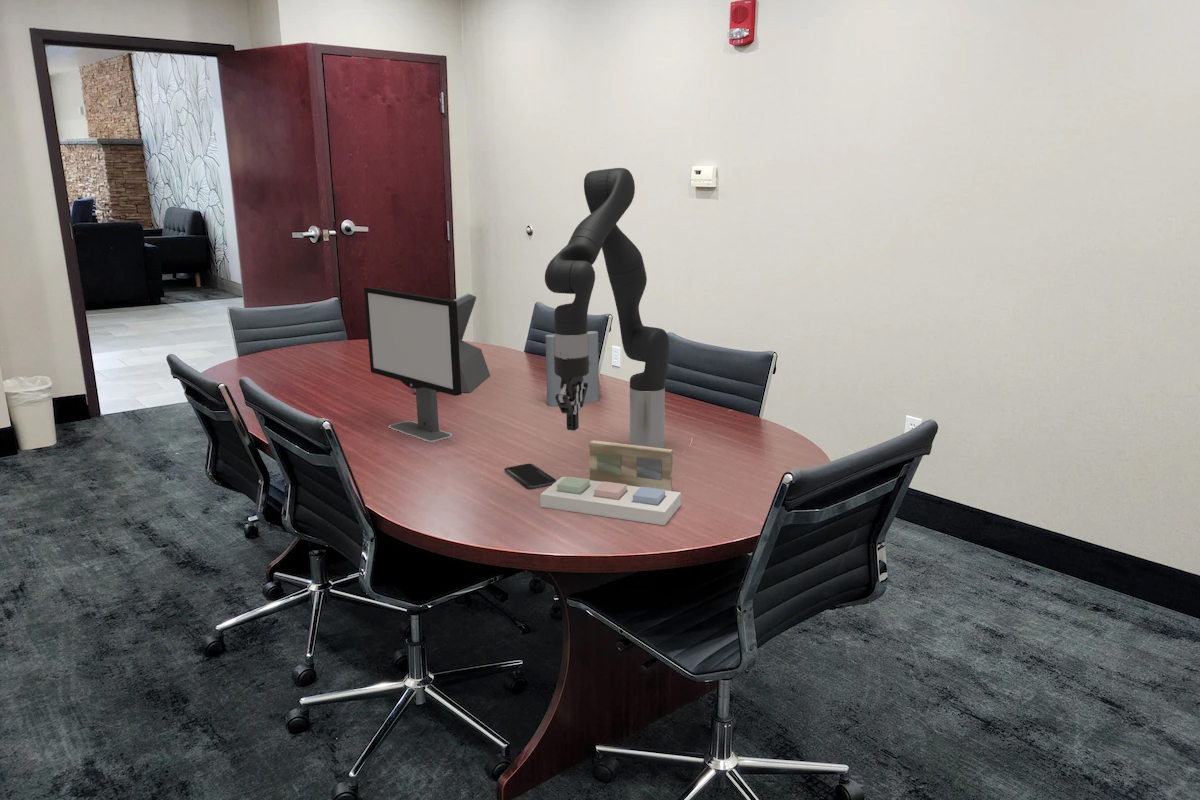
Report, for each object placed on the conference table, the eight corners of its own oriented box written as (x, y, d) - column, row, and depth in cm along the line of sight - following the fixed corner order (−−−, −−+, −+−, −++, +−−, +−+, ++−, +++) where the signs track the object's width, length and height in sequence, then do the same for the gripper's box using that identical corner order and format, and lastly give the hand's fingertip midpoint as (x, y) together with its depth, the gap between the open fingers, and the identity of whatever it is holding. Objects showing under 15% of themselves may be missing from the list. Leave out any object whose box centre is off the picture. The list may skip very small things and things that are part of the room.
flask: (550, 407, 267) (548, 329, 261) (545, 403, 272) (543, 327, 265) (601, 401, 274) (600, 325, 267) (596, 398, 278) (595, 322, 271)
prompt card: (593, 479, 206) (592, 440, 203) (672, 490, 198) (672, 449, 196) (589, 482, 204) (588, 443, 201) (669, 493, 196) (669, 452, 194)
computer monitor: (368, 421, 254) (357, 288, 243) (392, 415, 260) (382, 285, 249) (452, 450, 227) (444, 302, 217) (477, 443, 233) (470, 298, 222)
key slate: (641, 497, 189) (641, 486, 189) (665, 501, 187) (665, 489, 187) (632, 506, 184) (632, 495, 184) (657, 510, 182) (657, 498, 182)
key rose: (603, 492, 193) (603, 481, 192) (626, 495, 191) (626, 484, 190) (594, 501, 188) (594, 489, 187) (618, 504, 186) (618, 493, 185)
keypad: (562, 488, 200) (562, 476, 199) (680, 505, 190) (681, 492, 189) (540, 506, 189) (540, 494, 189) (664, 525, 179) (664, 512, 178)
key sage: (567, 487, 196) (567, 476, 195) (589, 490, 194) (589, 479, 193) (557, 495, 191) (557, 484, 190) (580, 499, 189) (580, 487, 188)
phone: (528, 487, 199) (502, 468, 212) (528, 491, 199) (503, 472, 212) (558, 481, 203) (531, 462, 215) (558, 485, 203) (531, 466, 216)
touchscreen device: (444, 370, 317) (442, 290, 309) (494, 374, 314) (494, 293, 306) (409, 394, 283) (406, 306, 275) (465, 399, 281) (464, 309, 273)
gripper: (567, 346, 191) (569, 419, 196) (542, 358, 179) (544, 436, 184) (598, 348, 188) (599, 422, 193) (575, 360, 176) (576, 439, 181)
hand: (572, 429), depth 188 cm, fingers closed
